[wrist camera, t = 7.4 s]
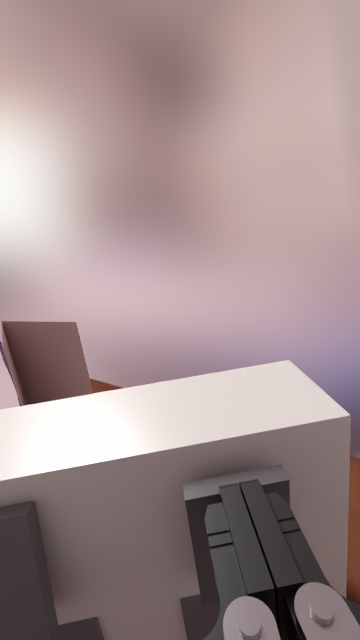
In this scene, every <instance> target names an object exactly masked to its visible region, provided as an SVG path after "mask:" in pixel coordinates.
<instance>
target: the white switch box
mask: <svg viewBox="0 0 360 640" xmlns="http://www.w3.org/2000/svg"><path fill="white" fill-rule="evenodd" d="M350 416H351V415H350V414H349V413H347V412H346V411H345V410H344V409H343V408H342V407H341V406H340V405H339V404H337V403H336V402H335V401H334V400H333V399H332V398H331V397H330V396H328V395H327V394H326V393H325V392H324V391H323V390H322V389H321V388H319V387H318V386H317V385H316V384H315V383H314V382H313V381H312V380H311V379H309V378H308V377H307V376H306V375H305V374H304V373H303V372H302V371H300V370H299V369H298V368H297V367H296V366H295V365H294V364H293V363H291V362H290V361H289V360H287V361H280V362H274V363H269V364H263V365H257V366H251V367H246V368H240V369H234V370H228V371H222V372H217V373H211V374H205V375H199V376H193V377H187V378H182V379H176V380H171V381H164V382H158V383H153V384H147V385H141V386H135V387H129V388H124V389H118V390H112V391H106V392H100V393H95V394H89V395H83V396H77V397H71V398H66V399H60V400H54V401H48V402H42V403H37V404H31V405H25V406H20V407H14V408H8V409H2V410H0V507H6V506H11V505H16V504H21V503H26V502H31V501H35V505H36V510H37V515H38V521H39V526H40V531H41V536H42V542H43V547H44V552H45V557H46V563H47V568H48V573H49V578H50V584H51V589H52V594H53V599H54V605H55V610H56V615H57V620H58V626H59V631H60V636H61V640H203V639H204V638H205V637H206V636H208V635H209V634H210V632H211V631H212V630H213V628H214V627H215V625H216V623H217V620H218V617H219V612H220V606H219V603H217V604H212V605H208V606H203V607H202V602H201V596H200V590H199V584H198V578H197V571H196V565H195V559H194V553H193V547H192V541H191V535H190V529H189V522H188V516H187V510H186V504H185V498H184V491H183V484H182V483H186V482H191V481H196V480H201V479H207V478H212V477H217V476H222V475H227V474H232V473H237V472H242V471H248V470H253V469H258V468H263V467H268V466H273V465H278V464H281V466H282V467H283V469H284V471H285V473H286V475H287V476H288V478H289V483H290V508H291V510H292V512H293V514H294V516H295V519H296V520H297V522H298V524H299V526H300V528H301V531H302V532H303V534H304V536H305V538H306V540H307V542H308V544H309V546H310V548H311V550H312V552H313V554H314V556H315V558H316V560H317V562H318V564H319V566H320V568H321V570H322V572H323V574H324V576H325V577H326V579H327V581H328V582H329V583H330V585H331V586H332V587H333V588H334V589H335V590H336V591H337V592H338V593H339V594H340V595H342V596H343V597H345V598H346V584H347V543H348V501H349V460H350V419H351V417H350Z"/></svg>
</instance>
